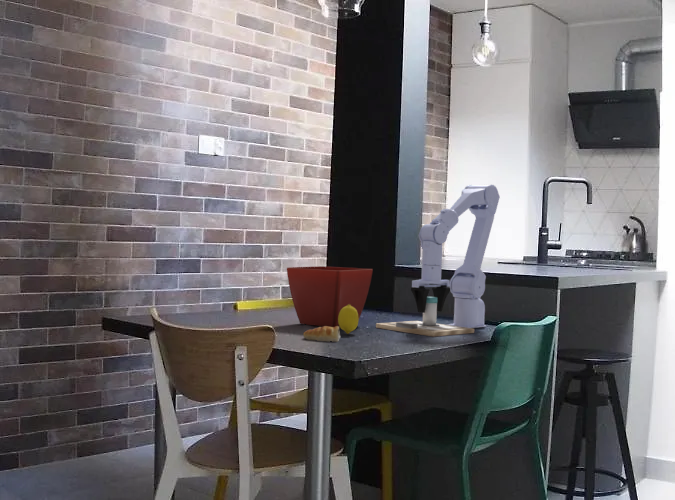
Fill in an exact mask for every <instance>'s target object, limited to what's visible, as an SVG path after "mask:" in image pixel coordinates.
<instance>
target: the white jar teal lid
mask: <svg viewBox="0 0 675 500" xmlns="http://www.w3.org/2000/svg"><path fill="white" fill-rule="evenodd" d="M437 299H438V298H437V297H434V296H427V300H426V309H425V313H422V321H423V322H422V324H423V325H436V323H437V317H438V316H437V312H438V311H437Z"/></svg>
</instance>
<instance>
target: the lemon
mask: <svg viewBox="0 0 675 500" xmlns="http://www.w3.org/2000/svg"><path fill="white" fill-rule="evenodd" d="M359 320H360V318H359V317H358V312H357V310H356V309H355V308H354V307H352V306H351V305H347V306H345V307H343V308H342V309H341V311H340V313H339V316H338V323H339V326H340V327H339V329H341V330H342V331H344V333H346V334H347V335H349V334H351V332H353V331H355V330H357V329H356V328H357V327H358V325H359Z"/></svg>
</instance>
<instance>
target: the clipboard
mask: <svg viewBox="0 0 675 500" xmlns="http://www.w3.org/2000/svg"><path fill="white" fill-rule="evenodd" d="M422 322H423V320H422V321H421V320H409V321H408V320H407V321H394V322H392V321H391V322H379V323H378V322H377V323H375V328H376V329H383V330H389V331H390V330H391V331H394V332H401V333H402V332H403V333H408V334H416V335H421V336H426V337H427V336H428V337H441V336H442V337H445V336H455V335H464V334H465V335H466V334H474V333H475V328H466V327H459V326H451V325H448V324H443V323H437V322H436V325H423V324H422Z"/></svg>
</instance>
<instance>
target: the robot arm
mask: <svg viewBox="0 0 675 500" xmlns="http://www.w3.org/2000/svg"><path fill="white" fill-rule="evenodd" d="M500 199H501V198H500V194H499V191H498V188H497V187H496V185H494V184H488V185H487V184H486V185H485V184H484V185H483V184H481V185H480V184H479V185H472V184H468V185H466V186H465V187H464V188H463V189H462V190H461V195H460V197H459V198H458V199H457V200H456V201H455V202H454V203H453V205H452V206H451V207H450V208H442V209H441V210H440V213H438V215H436V217H434V218H433V219H432V220H431V222H430V223H426V224H424V225H422V227H421V228H420V230H419V233H418V239H419V241H420V247H421V249H422V253H421V254H422V255H421V278H419V279H416V280H411V287H410V291H411V293H412V296H413V297H414V299H415V303H416V308H417V312H418V313H422V314H423V313H425V309H426V300H427V297H429V293H430V291H431V290H432V293H433V297H437V298H438V299H437V312H442V311H443V308H444V305H445V301H446V299H447V297H448V294H449V293H451V294H452V297H454V306H453V307H454V309H453V314H454V315H453V323H448V324H447V325H451V326H459V327H466V328H473V329H476V328H477V329H478V328H487V325H486V324H485V313H486V305H485V302H484V300H483V299H482V298H481V297H482V296H483V295H484V293H485V290H486V278H487V276H486V274H485V273H484V271H483V270H482V264H483V261H484V256H485V253H486V250H487V246H488V242H489V237H490V233H491V230H492V226H493V223H494V219H495V214H496V213H497V209H498V205H499V201H500ZM467 210H469V211H470V213H471V214H473V215H474V217H475V221H474V223H473V227H472V232H471V235H470V239H469V242H468V246H467V249H466V253H465V256H464V259H463V264H461V266H459V267H458V268H456V269H455V270H454V274H453V276H452V277H451V278H450V279H442V265H443V264H442V263H443V244H444V243H446V241H447V240H448V235H449V233H450V231H451V230H452V229H453V228H454V227H456V226H457V224H458V223H459V217H461V215H463V214H464V213H465V212H466V211H467ZM428 288H429V289H428ZM430 288H431V290H430Z"/></svg>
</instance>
